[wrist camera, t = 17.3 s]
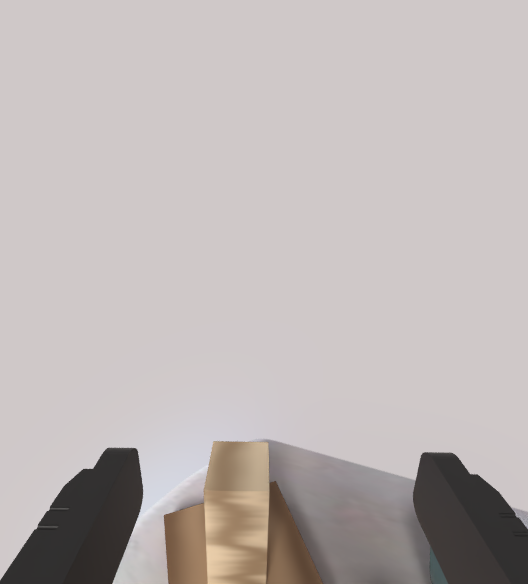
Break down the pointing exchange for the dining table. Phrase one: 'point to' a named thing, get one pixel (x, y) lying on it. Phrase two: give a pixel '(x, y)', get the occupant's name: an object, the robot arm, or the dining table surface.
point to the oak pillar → (237, 512)
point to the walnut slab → (280, 548)
